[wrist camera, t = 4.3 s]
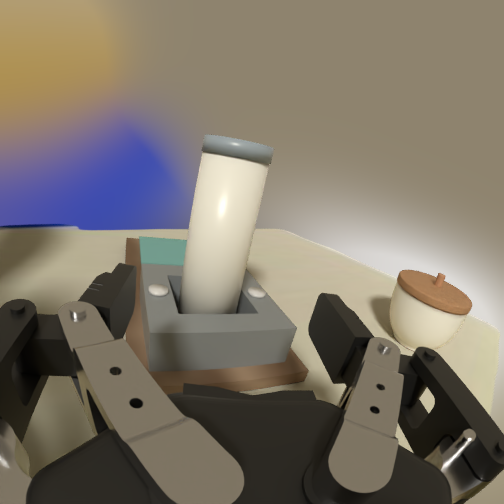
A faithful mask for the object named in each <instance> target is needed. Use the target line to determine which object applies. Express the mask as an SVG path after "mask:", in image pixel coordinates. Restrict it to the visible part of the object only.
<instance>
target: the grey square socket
mask: <svg viewBox="0 0 504 504" xmlns="http://www.w3.org/2000/svg"><path fill="white" fill-rule="evenodd" d="M182 272H183V266H175V265H158V264H141V277H140V306H141V316H142V325H143V333H144V341H145V348H146V355H147V362H148V368H149V372H153V371H191V370H209V369H223V368H235V367H246V366H256V365H265V364H273V363H281V362H285V361H286V358H287V355H288V352H289V350H290V347H291V344H292V341H293V338H294V335H295V333H296V330H297V327H296V326H295V325H294V324H293V323H292V322H291V320H290V319H289V318H288V317H287V316H286V315H285V313H284V312H283V311H282V310H281V309H280V308H279V307H278V305H277V304H276V303H275V302H274V301H273V300H272V299H271V297H270V296H269V295H268V294H267V293H266V292H265V290H264V289H263V288H262V287H261V286H260V285H259V283H258V282H257V281H256V280H255V279H254V278H253V276H252V275H251V274H250V273H249V272H248V271H247V269H246V270H245V274H244V279H243V283H242V288H241V292H240V297H239V301H238V306H237V310H236V314H178V310H177V308H178V304H179V295H180V287H181V279H182Z"/></svg>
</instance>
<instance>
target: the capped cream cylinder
mask: <svg viewBox="0 0 504 504" xmlns="http://www.w3.org/2000/svg"><path fill="white" fill-rule="evenodd" d="M202 151H203V153H202V158H201V163H200V168H199V174H198V179H197V184H196V189H195V196H194V201H193V206H192V212H191V219H190V224H189V231H188V237H187V244H186V250H185V257H184V264H183V272H182V279H181V287H180V295H179V304H178V314H236V310H237V306H238V301H239V297H240V292H241V288H242V283H243V279H244V274H245V270H246V265H247V261H248V256H249V252H250V247H251V243H252V239H253V234H254V230H255V225H256V221H257V216H258V212H259V207H260V203H261V198H262V194H263V189H264V185H265V180H266V176H267V172H268V167H269V164H271V160H272V156H273V151H274V148H272V147H269V146H266V145H262V144H257V143H254V142H249V141H245V140H240V139H235V138H229V137H223V136H216V135H205V137H204V142H203V147H202Z"/></svg>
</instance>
